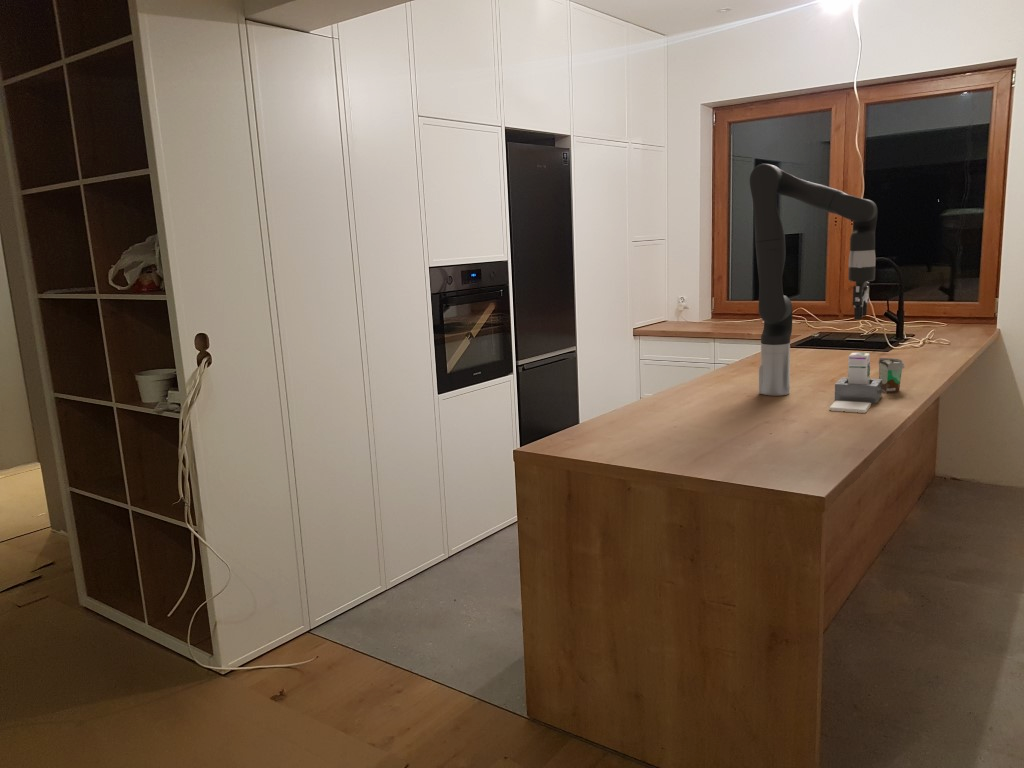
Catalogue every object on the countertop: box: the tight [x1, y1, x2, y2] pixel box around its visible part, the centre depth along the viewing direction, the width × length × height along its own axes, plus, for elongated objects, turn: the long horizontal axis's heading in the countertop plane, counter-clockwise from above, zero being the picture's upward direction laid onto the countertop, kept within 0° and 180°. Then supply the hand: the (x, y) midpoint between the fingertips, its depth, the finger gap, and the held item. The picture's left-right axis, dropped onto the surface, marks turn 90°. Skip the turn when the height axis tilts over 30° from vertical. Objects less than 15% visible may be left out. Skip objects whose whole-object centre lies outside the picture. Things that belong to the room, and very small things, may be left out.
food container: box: [878, 357, 905, 394], centre depth 252 cm, size 12×6×10 cm, turn 168°
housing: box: [834, 376, 883, 405], centre depth 243 cm, size 12×12×6 cm
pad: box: [829, 400, 872, 414], centre depth 232 cm, size 10×10×1 cm
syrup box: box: [847, 352, 871, 385], centre depth 242 cm, size 6×6×14 cm
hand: (860, 317), depth 239 cm, fingers open, 8 cm apart
